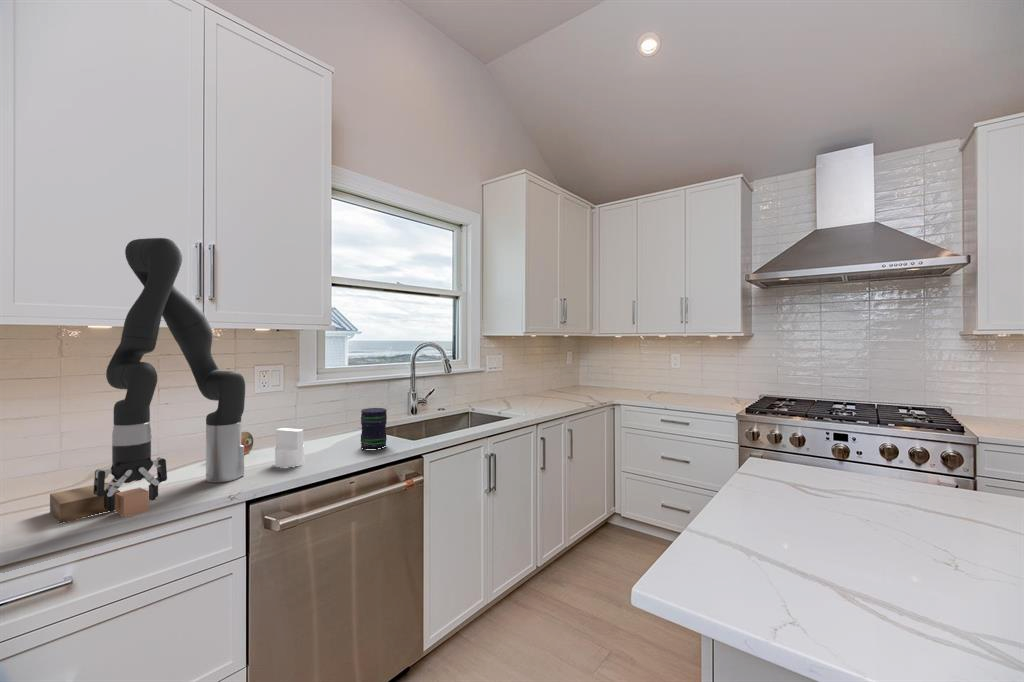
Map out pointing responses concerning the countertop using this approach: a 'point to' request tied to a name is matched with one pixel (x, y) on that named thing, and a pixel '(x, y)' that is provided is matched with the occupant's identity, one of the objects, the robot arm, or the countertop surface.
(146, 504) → the terracotta cube
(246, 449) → the tin
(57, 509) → the walnut block
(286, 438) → the white block
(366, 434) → the storage jar
